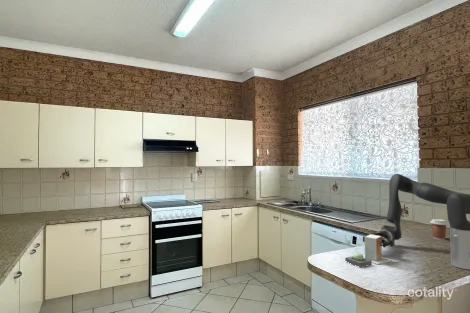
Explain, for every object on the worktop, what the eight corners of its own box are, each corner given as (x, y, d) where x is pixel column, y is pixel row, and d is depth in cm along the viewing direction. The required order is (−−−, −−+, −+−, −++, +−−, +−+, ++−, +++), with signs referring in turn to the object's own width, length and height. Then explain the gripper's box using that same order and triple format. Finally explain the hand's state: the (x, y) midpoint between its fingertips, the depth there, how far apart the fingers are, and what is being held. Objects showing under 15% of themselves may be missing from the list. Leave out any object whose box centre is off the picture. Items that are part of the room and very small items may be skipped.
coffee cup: (451, 240, 171) (450, 221, 172) (434, 239, 173) (434, 220, 174) (443, 237, 180) (442, 218, 181) (427, 236, 182) (427, 218, 183)
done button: (365, 260, 128) (365, 255, 128) (359, 262, 126) (359, 256, 126) (357, 257, 132) (357, 252, 132) (351, 259, 130) (351, 254, 130)
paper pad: (391, 261, 132) (391, 259, 132) (377, 264, 127) (377, 263, 127) (371, 254, 142) (371, 253, 142) (356, 257, 137) (356, 256, 137)
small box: (376, 261, 130) (376, 238, 131) (364, 258, 134) (364, 236, 135) (382, 257, 136) (381, 236, 136) (370, 254, 140) (370, 234, 140)
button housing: (371, 264, 127) (371, 260, 127) (359, 267, 123) (359, 262, 123) (356, 259, 134) (356, 255, 134) (345, 261, 130) (345, 257, 130)
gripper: (369, 228, 153) (359, 233, 141) (398, 232, 144) (390, 238, 132) (369, 241, 153) (359, 248, 141) (398, 247, 144) (390, 253, 132)
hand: (374, 243), depth 137 cm, fingers open, 8 cm apart
